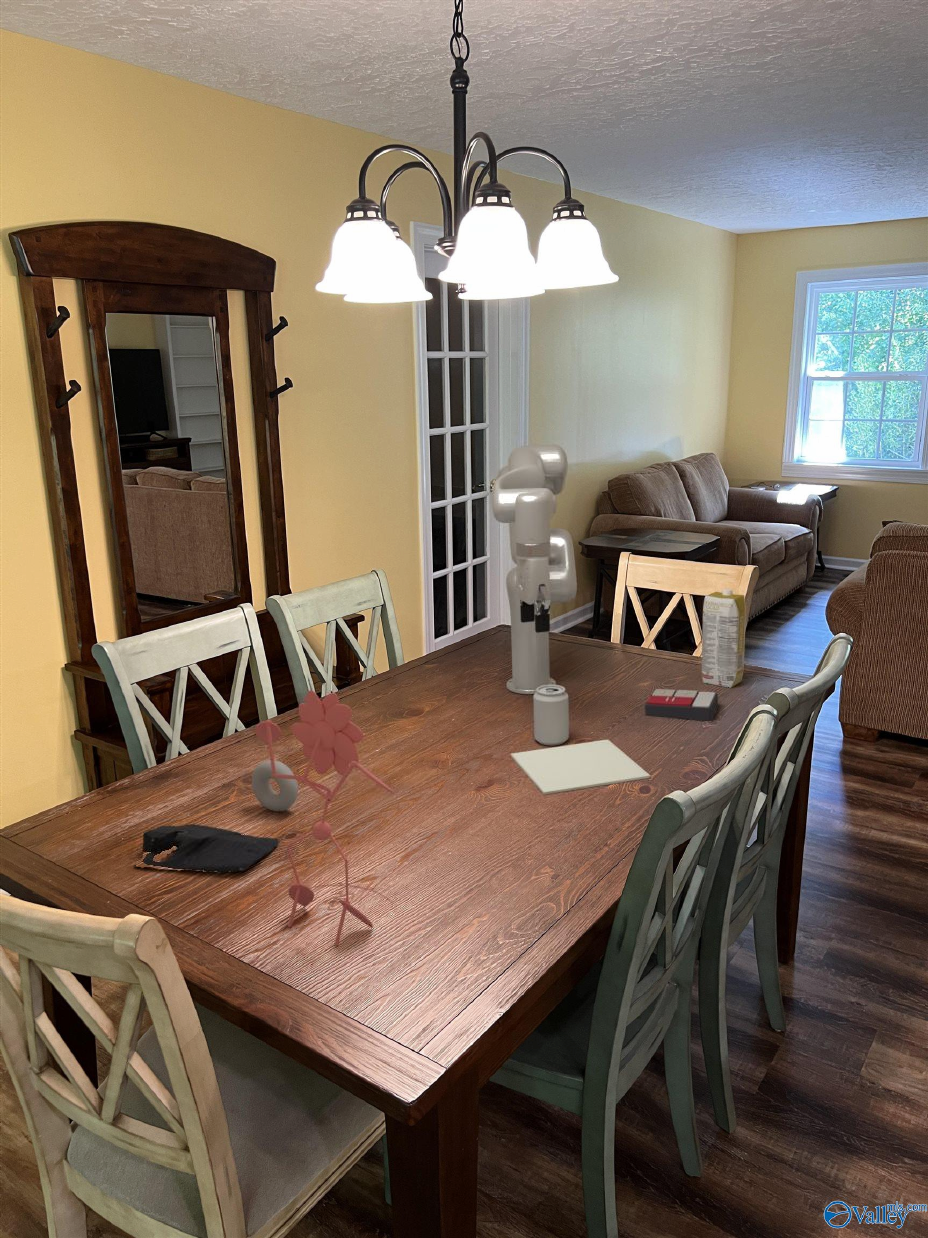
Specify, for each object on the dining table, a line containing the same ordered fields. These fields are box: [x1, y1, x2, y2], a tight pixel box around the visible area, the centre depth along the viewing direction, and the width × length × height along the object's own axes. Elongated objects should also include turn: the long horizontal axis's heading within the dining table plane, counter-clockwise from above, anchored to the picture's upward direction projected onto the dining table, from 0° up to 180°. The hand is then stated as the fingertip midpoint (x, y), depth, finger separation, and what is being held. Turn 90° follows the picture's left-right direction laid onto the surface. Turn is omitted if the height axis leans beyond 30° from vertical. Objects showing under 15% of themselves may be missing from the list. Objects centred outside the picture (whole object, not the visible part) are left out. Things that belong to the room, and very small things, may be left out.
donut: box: [251, 759, 299, 812], centre depth 169 cm, size 10×4×10 cm, turn 63°
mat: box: [510, 739, 651, 796], centre depth 185 cm, size 20×22×1 cm
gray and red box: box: [644, 688, 719, 723], centre depth 213 cm, size 11×4×15 cm
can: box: [532, 684, 570, 747], centre depth 197 cm, size 8×8×12 cm
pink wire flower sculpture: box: [254, 690, 395, 961], centre depth 132 cm, size 15×26×35 cm, turn 56°
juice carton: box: [701, 588, 747, 688], centre depth 229 cm, size 9×8×24 cm
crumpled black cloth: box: [141, 823, 279, 873], centre depth 155 cm, size 15×22×5 cm
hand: (534, 626), depth 202 cm, fingers open, 9 cm apart
